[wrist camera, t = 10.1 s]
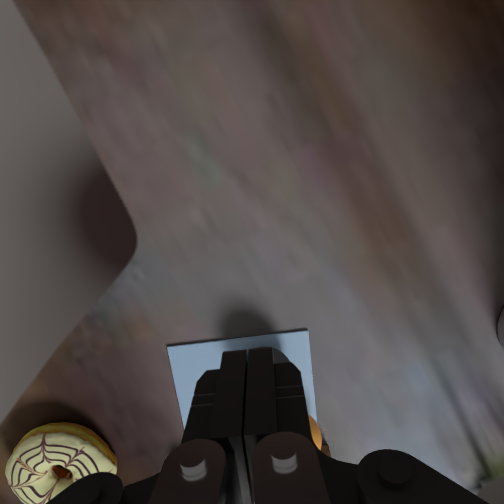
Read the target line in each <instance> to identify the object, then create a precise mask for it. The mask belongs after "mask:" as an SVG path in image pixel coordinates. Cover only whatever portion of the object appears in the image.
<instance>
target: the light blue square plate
mask: <svg viewBox="0 0 504 504" xmlns="http://www.w3.org/2000/svg"><path fill="white" fill-rule="evenodd" d="M258 347H273V348H275V349H277V350H279V351H281V352H282V353H284V354H285V355H286V356H287V358H288V359H289V360H290V362H292V363H293V364H294V365H295V366H296V367H297V368H298V369H299V370H300V371H301V376H302V382H303V388H304V393H305V399H306V405H307V411H308V414H309V415H311V416H312V417H313V418H314V420H315V421H316V422H317V418H316V408H315V397H314V387H313V376H312V366H311V355H310V345H309V334H308V330H304V331H295V332H286V333H278V334H269V335H261V336H252V337H244V338H235V339H226V340H218V341H209V342H201V343H192V344H184V345H175V346H167V350H168V355H169V359H170V364H171V369H172V373H173V378H174V383H175V388H176V392H177V397H178V402H179V407H180V411H181V416H182V421H183V425H184V430H185V426H186V422H187V418H188V414H189V410H190V407H191V402H192V398H193V396H194V391H195V387H196V383H197V381H198V380H199V378H200V377H201V376H202V375H203V374H204V372H205V371H206V370H213V369H220V364H221V358H222V353H223V352H224V351H234V350H244V349H247V351H248V350H249V349H253V348H258Z"/></svg>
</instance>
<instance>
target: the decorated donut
mask: <svg viewBox="0 0 504 504" xmlns="http://www.w3.org/2000/svg"><path fill="white" fill-rule="evenodd" d="M59 465H61V466H63V467H64V468H66V469H69V470H66V469H63V468H61V467H60V466H59ZM97 472H110V473H113V474H115V475H116V473H117V459H116V456H115V455H114V453H113V452H112V451H111V450H110V448H109V446H108V444H107V443H105V442H104V441H103V440H102V439H101V438H100V437H99V436H98V435H97V434H96V433H95V432H94V431H92V430H91V429H89V428H87V427H85V426H84V425H83V426H82V425H79V424H76V423H69V422H61V423H49V424H45V425H42V426H40V427H37V428H35V429H33V430H31V431H29V432H28V433H27V434H26V435H25V436H24V437H23V438H22V440H21V441H20V442H19V443H18V445H17V446H16V447H15V448H14V450H13V453H12V455H11V457H10V458H9V460H8V462H7V465H6V470H5V474H6V477H7V479H8V484H9V486H10V487H11V488H12V490H13V492H14V493H15V494H16V495H17V496H18V497H19V499H20V500H21V501H22V502H23V503H24V504H46V503H47V502H48V501H50V500H51V499H52V498H54V497H55V496H56V495H57V494H59V493H60V492H61V491H63V490H64V489H65V488H67V487H68V486H69V485H71V484H72V483H74V482H75V481H77V480H78V479H80V478H82V477H84V476H87V475H89V474H93V473H97Z"/></svg>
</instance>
